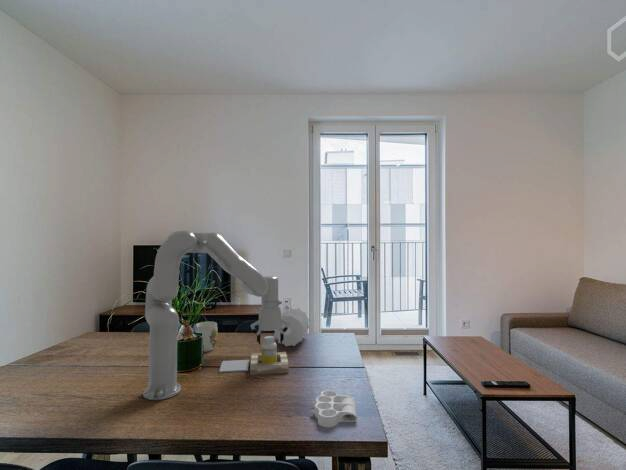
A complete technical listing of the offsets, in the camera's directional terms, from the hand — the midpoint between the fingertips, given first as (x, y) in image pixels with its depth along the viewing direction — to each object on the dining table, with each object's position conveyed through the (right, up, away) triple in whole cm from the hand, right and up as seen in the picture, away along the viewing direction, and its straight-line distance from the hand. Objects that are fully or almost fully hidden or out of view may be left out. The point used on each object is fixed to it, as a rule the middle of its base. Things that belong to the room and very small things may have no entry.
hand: (270, 342), depth 146 cm
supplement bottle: (-1, -11, 0) cm, 11 cm away
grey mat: (-16, -10, -1) cm, 19 cm away
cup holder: (-1, -10, 0) cm, 10 cm away
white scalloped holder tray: (+25, -10, -39) cm, 48 cm away
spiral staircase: (+7, -11, +36) cm, 38 cm away
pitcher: (-35, -11, +23) cm, 43 cm away
